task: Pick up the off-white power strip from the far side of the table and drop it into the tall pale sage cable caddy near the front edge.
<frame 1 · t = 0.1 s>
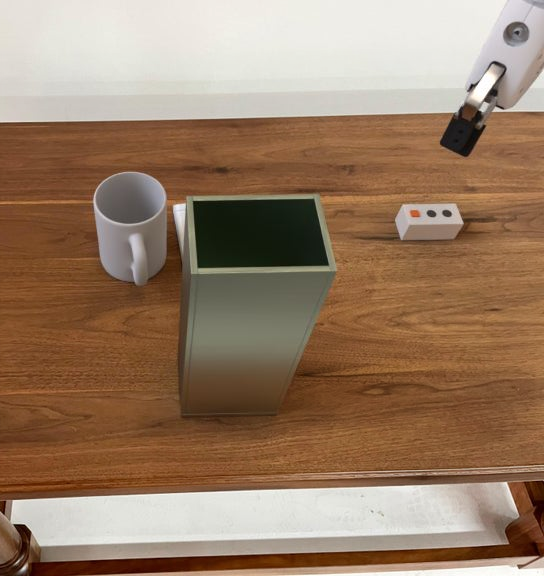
hand: (473, 126, 65), 18 cm above the table, tool pointing down, fingers open, 9 cm apart
hard drive: (210, 245, 79), on the table
mug: (135, 267, 77), on the table
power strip: (423, 229, 80), on the table
caddy: (225, 384, 67), on the table
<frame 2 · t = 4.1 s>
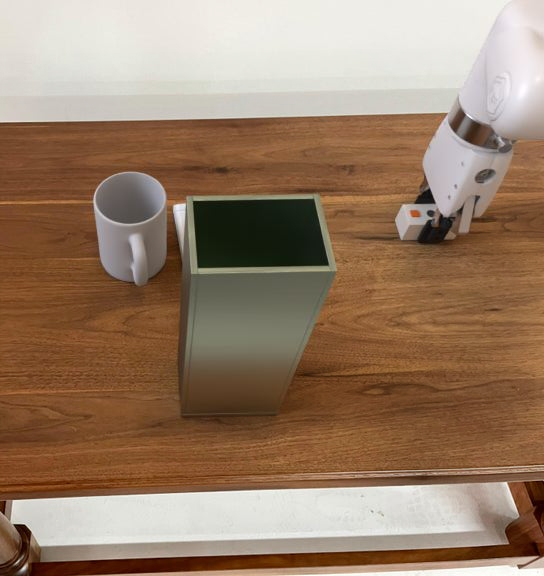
hand: (425, 227, 79), 0 cm above the table, tool pointing down, fingers closed on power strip, 3 cm apart
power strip: (423, 229, 80), on the table, touching gripper
everything else where it was.
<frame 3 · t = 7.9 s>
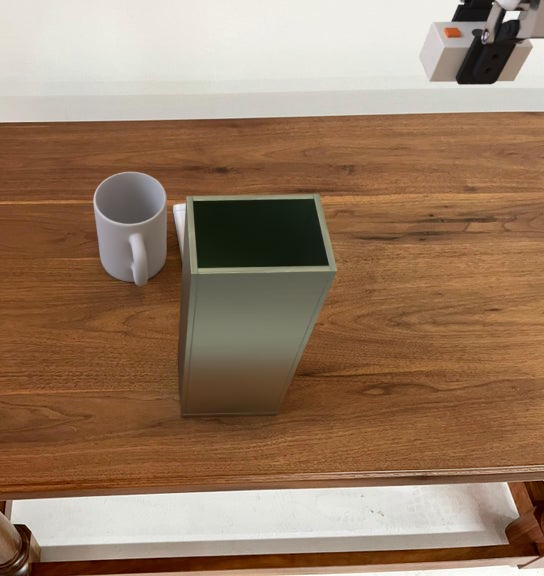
hand: (467, 64, 50), 31 cm above the table, tool pointing down, fingers closed on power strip, 3 cm apart
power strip: (465, 68, 50), point 30 cm above the table, touching gripper
everything else where it was.
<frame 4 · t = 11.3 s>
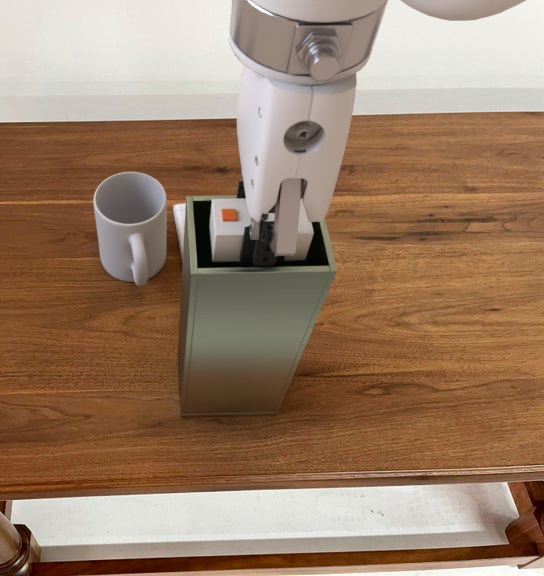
hand: (257, 239, 46), 26 cm above the table, tool pointing down, fingers closed on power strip, 3 cm apart
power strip: (256, 243, 46), point 25 cm above the table, touching gripper
everything else where it was.
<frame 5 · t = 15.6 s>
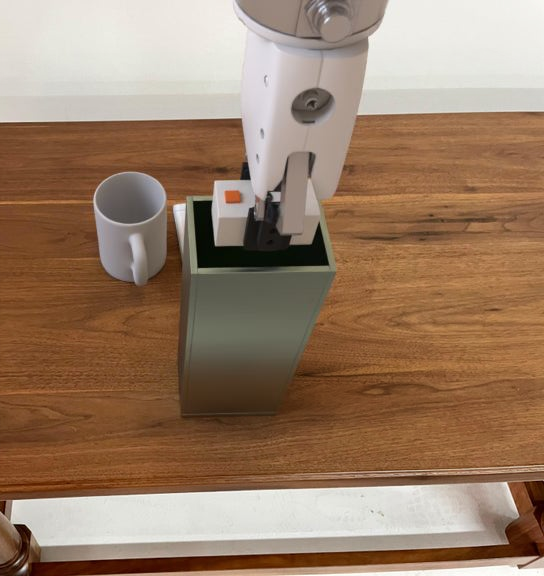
hand: (261, 222, 44), 28 cm above the table, tool pointing down, fingers closed on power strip, 3 cm apart
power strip: (260, 227, 44), point 27 cm above the table, touching gripper
everything else where it was.
when the fingers open (28 cm above the table, at t = 19.1 s): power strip drops 27 cm, resting on caddy.
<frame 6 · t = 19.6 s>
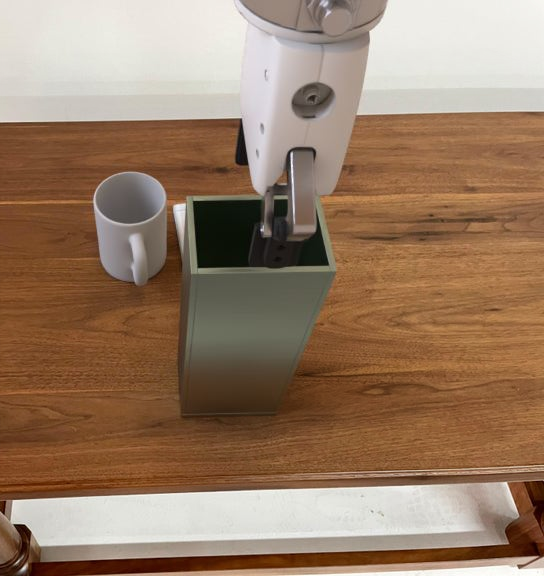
hand: (263, 209, 43), 29 cm above the table, tool pointing down, fingers open, 9 cm apart
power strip: (225, 380, 67), point 1 cm above the table, touching caddy
everything else where it was.
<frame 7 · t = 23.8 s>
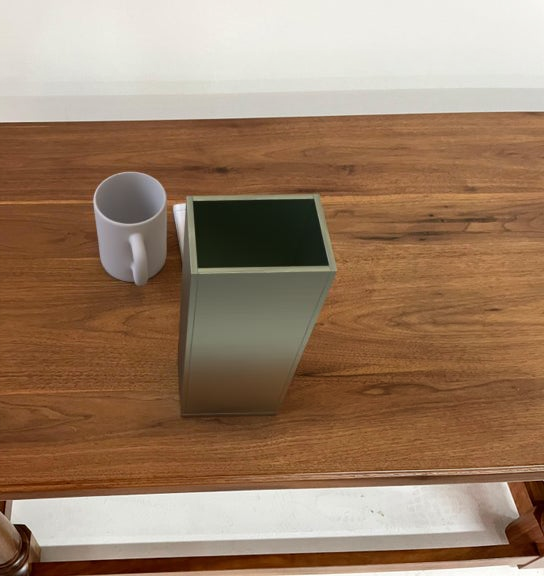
nothing on the table moved.
at the end: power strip inside the target area in the caddy (0.1 cm from its centre), point 0.8 cm above the caddy's base; the gripper is holding nothing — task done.
